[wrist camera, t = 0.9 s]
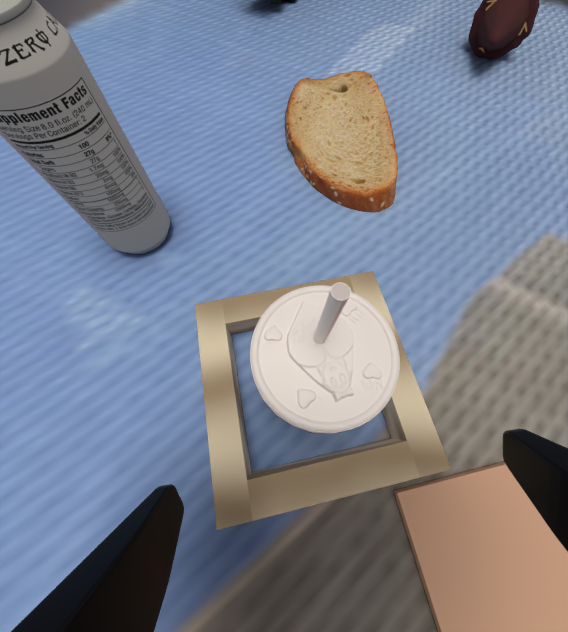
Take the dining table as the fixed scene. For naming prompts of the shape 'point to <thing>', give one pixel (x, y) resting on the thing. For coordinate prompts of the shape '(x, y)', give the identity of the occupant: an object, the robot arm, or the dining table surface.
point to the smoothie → (324, 359)
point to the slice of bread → (343, 140)
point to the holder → (314, 473)
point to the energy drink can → (72, 130)
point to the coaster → (485, 554)
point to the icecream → (501, 26)
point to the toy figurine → (278, 0)
